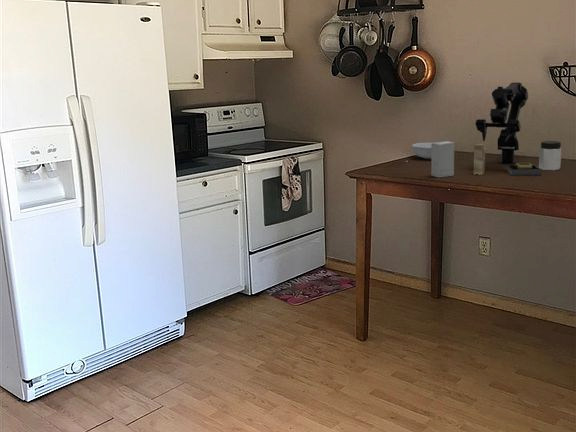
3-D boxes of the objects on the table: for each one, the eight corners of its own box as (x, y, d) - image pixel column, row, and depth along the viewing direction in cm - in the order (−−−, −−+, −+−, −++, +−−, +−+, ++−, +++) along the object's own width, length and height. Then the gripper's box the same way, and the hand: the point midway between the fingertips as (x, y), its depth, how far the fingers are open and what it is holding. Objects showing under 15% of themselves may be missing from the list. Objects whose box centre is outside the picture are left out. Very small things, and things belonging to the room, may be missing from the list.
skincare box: (446, 174, 284) (447, 140, 280) (454, 176, 278) (455, 142, 275) (430, 175, 281) (430, 142, 278) (438, 178, 276) (438, 143, 272)
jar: (551, 171, 281) (553, 144, 278) (535, 168, 288) (536, 142, 285) (563, 168, 286) (565, 141, 283) (547, 166, 292) (549, 140, 289)
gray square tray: (506, 170, 286) (507, 161, 285) (534, 170, 284) (535, 161, 283) (511, 175, 274) (512, 166, 273) (541, 175, 272) (541, 166, 271)
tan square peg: (476, 172, 284) (477, 143, 280) (484, 173, 281) (485, 144, 278) (473, 174, 281) (474, 144, 278) (481, 174, 279) (482, 145, 276)
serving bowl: (457, 160, 318) (458, 146, 316) (415, 162, 318) (415, 148, 317) (448, 154, 338) (448, 141, 336) (408, 155, 338) (408, 142, 337)
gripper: (476, 101, 286) (469, 130, 280) (520, 101, 276) (513, 131, 271) (481, 116, 295) (474, 144, 289) (523, 116, 285) (516, 145, 279)
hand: (494, 141), depth 282 cm, fingers open, 9 cm apart
